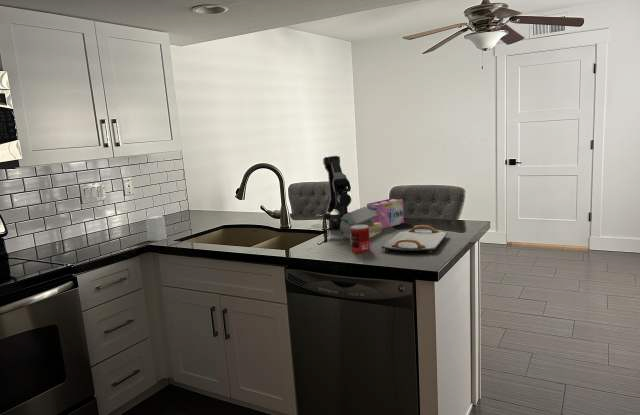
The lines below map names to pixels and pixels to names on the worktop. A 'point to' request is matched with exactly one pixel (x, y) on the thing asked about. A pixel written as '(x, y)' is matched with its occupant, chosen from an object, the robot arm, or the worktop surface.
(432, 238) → the serving board
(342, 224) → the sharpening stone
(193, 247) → the worktop surface
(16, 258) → the worktop surface
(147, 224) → the supplement box
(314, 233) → the worktop surface
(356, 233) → the canned food
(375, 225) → the maple stop board
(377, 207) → the gum box
